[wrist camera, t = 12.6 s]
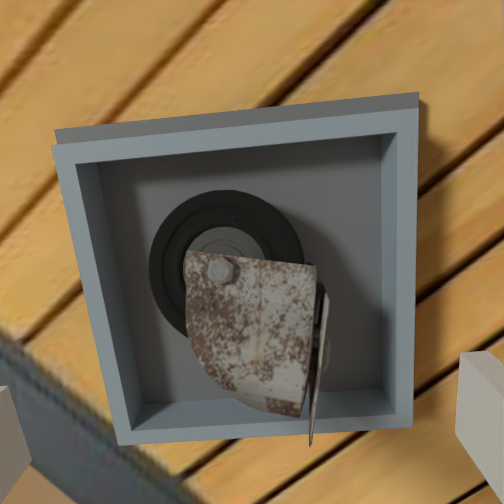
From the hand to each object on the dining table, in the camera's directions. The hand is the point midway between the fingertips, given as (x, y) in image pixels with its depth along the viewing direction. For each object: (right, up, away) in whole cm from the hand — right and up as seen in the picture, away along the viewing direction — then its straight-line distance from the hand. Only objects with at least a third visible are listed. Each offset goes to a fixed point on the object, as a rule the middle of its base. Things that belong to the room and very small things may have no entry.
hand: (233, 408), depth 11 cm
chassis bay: (0, +3, +13) cm, 13 cm away
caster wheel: (0, +3, +12) cm, 12 cm away
